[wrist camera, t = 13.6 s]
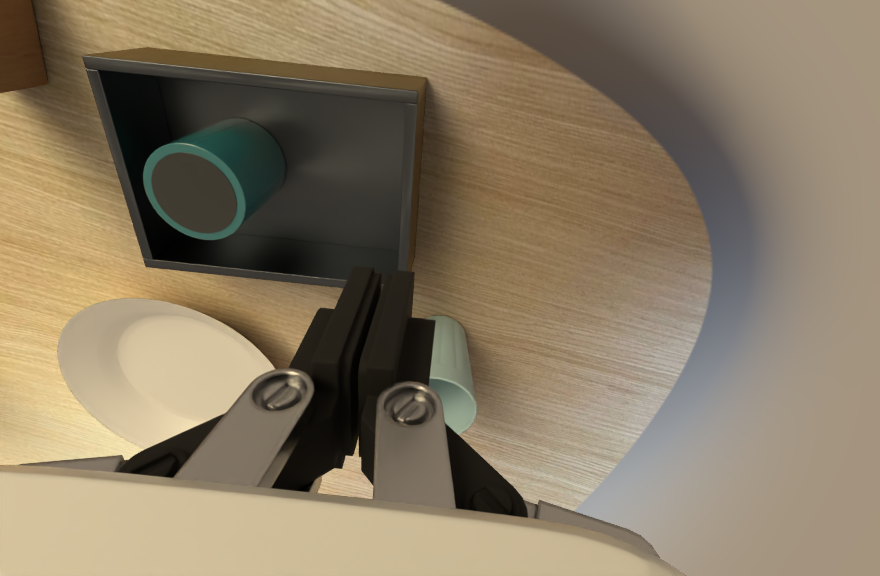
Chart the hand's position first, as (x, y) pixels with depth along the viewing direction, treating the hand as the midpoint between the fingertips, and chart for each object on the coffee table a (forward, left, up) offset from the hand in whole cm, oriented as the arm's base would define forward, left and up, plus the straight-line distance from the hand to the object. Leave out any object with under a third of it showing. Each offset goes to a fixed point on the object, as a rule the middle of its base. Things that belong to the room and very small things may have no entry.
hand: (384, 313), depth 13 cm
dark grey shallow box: (+5, -12, -27) cm, 30 cm away
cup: (+22, +2, -27) cm, 35 cm away
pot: (+5, -16, -26) cm, 31 cm away
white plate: (+31, -26, -27) cm, 49 cm away
